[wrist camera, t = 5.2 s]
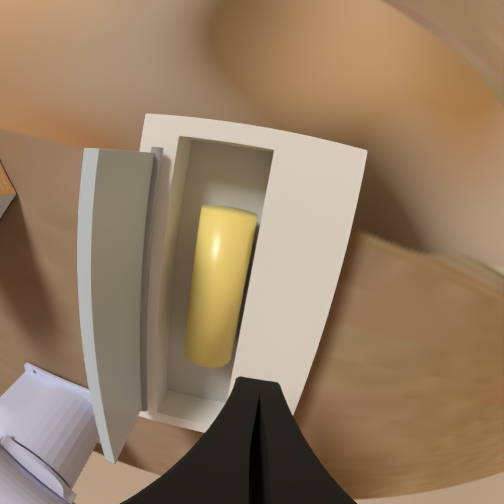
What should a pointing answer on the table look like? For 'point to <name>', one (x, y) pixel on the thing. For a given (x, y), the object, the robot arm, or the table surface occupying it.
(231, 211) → the yellow rounded bar
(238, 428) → the robot arm
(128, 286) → the cover
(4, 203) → the small box
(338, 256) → the white sliding drawer case
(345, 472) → the table surface
